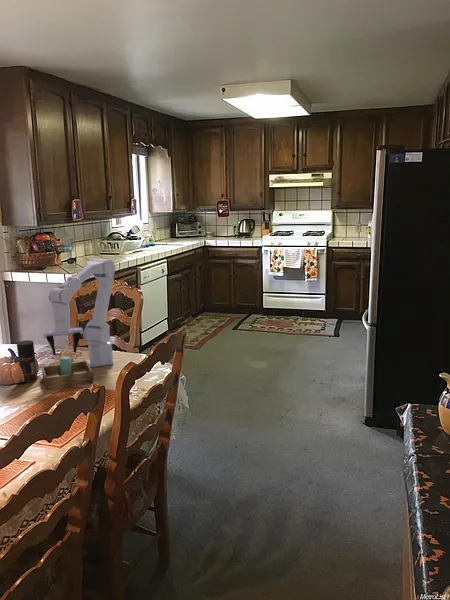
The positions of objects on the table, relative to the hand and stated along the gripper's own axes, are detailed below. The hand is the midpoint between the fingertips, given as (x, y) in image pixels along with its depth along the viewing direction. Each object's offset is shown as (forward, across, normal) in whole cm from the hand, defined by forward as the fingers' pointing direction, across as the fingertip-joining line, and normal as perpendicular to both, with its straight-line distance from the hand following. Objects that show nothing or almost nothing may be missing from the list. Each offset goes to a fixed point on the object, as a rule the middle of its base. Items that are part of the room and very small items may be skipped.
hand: (64, 353), depth 202 cm
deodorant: (+10, -14, +4) cm, 17 cm away
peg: (+10, 0, 0) cm, 10 cm away
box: (+10, 0, -3) cm, 10 cm away
